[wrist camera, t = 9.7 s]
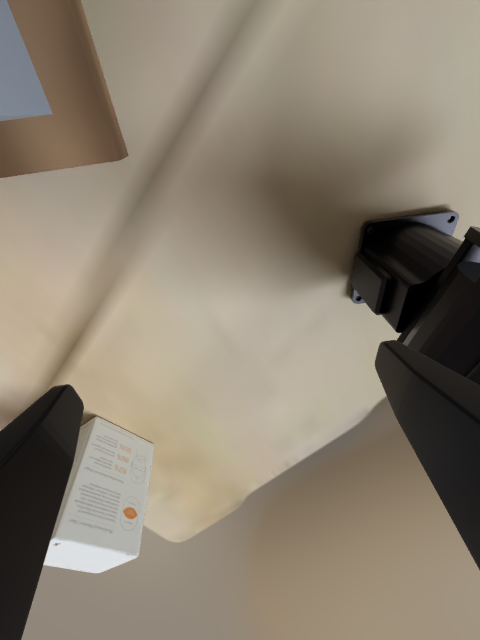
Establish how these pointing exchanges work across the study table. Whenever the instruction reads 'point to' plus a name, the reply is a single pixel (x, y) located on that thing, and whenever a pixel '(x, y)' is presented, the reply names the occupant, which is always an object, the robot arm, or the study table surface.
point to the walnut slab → (61, 95)
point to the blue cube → (17, 74)
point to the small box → (102, 500)
